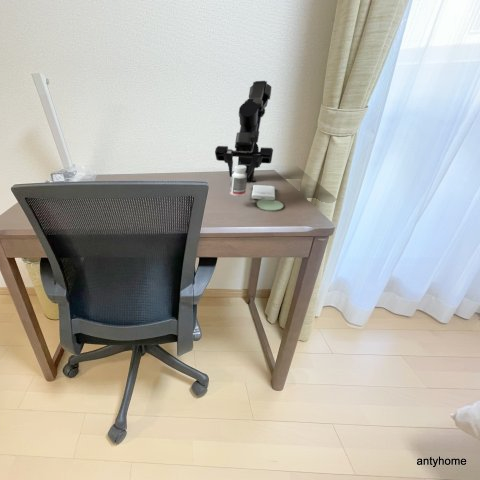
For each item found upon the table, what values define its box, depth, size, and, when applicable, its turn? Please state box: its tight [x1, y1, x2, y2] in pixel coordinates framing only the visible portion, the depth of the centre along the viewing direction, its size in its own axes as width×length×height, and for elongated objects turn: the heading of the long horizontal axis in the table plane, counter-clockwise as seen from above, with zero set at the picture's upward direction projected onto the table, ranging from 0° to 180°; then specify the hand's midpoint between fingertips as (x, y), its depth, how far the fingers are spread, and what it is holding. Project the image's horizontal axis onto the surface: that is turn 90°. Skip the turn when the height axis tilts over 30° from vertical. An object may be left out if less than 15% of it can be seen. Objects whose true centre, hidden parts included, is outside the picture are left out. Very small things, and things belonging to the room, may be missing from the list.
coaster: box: [256, 199, 284, 212], centre depth 93 cm, size 9×9×1 cm
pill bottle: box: [229, 164, 248, 197], centre depth 89 cm, size 5×5×10 cm
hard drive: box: [251, 184, 276, 200], centre depth 101 cm, size 2×8×12 cm
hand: (238, 177), depth 87 cm, fingers closed on pill bottle, 5 cm apart
